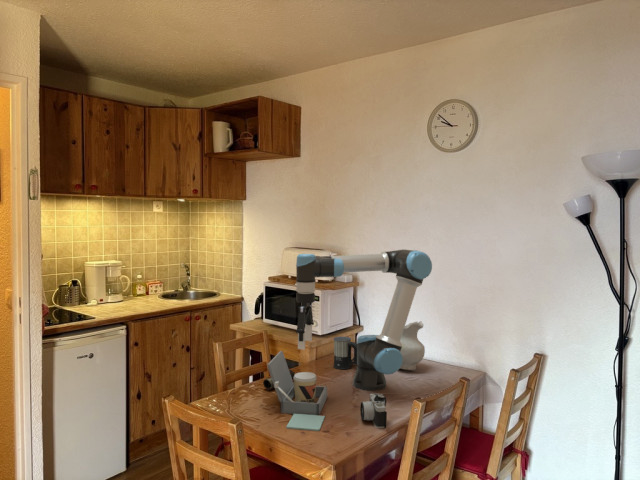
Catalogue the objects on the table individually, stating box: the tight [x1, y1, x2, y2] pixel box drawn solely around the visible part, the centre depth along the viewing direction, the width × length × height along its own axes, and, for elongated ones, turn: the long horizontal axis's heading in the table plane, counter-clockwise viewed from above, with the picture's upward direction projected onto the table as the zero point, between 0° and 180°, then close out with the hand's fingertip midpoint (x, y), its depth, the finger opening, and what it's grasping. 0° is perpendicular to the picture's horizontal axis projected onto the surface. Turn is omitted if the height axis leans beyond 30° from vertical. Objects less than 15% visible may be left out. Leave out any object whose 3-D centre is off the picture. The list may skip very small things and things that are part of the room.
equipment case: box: [266, 350, 328, 416], centre depth 192 cm, size 21×20×19 cm
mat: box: [286, 414, 326, 432], centre depth 174 cm, size 12×12×1 cm
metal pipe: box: [262, 369, 296, 390], centre depth 215 cm, size 18×7×6 cm, turn 143°
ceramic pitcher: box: [399, 321, 426, 371], centre depth 242 cm, size 22×20×25 cm
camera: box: [359, 392, 388, 429], centre depth 177 cm, size 16×9×10 cm, turn 5°
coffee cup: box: [293, 371, 318, 403], centre depth 191 cm, size 9×9×12 cm
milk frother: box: [333, 336, 357, 370], centre depth 245 cm, size 14×16×15 cm
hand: (305, 344), depth 191 cm, fingers open, 13 cm apart
